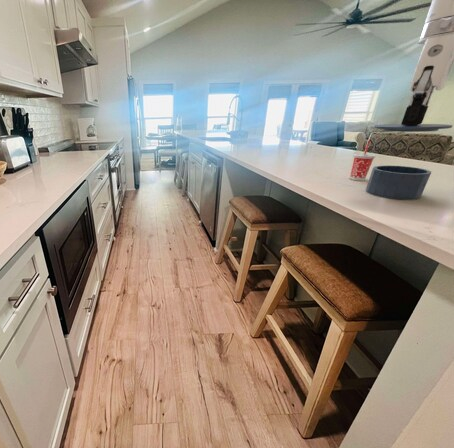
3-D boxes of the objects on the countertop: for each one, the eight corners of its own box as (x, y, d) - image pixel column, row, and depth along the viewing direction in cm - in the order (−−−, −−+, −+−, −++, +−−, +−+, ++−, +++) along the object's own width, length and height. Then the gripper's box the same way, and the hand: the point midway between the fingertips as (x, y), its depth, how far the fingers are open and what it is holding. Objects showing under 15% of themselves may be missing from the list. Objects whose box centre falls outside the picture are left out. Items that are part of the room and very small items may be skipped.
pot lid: (452, 128, 58) (463, 102, 56) (448, 132, 51) (461, 103, 48) (379, 128, 68) (386, 106, 66) (366, 131, 60) (374, 106, 58)
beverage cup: (343, 177, 95) (353, 140, 89) (358, 176, 95) (369, 139, 89) (356, 181, 89) (368, 141, 83) (371, 180, 89) (385, 141, 84)
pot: (423, 193, 75) (433, 168, 71) (417, 202, 67) (428, 176, 64) (371, 185, 83) (378, 164, 80) (361, 193, 76) (368, 170, 73)
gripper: (473, 18, 44) (429, 126, 51) (473, 32, 53) (436, 122, 61) (415, 29, 49) (383, 126, 57) (425, 41, 58) (396, 123, 66)
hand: (411, 123), depth 59 cm, fingers closed on pot lid, 2 cm apart
